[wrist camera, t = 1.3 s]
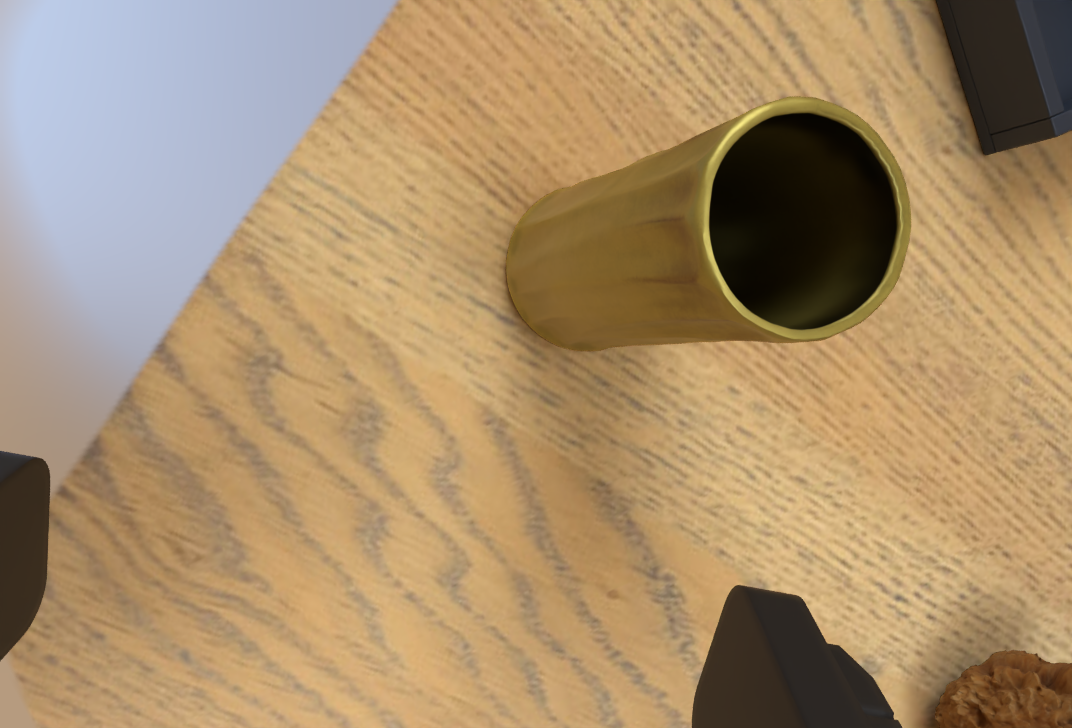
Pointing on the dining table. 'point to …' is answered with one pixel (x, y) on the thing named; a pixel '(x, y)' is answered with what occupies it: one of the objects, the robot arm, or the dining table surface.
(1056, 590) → the dining table surface
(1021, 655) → the stuffed squirrel
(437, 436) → the dining table surface
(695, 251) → the vase
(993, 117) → the grid
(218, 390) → the dining table surface
